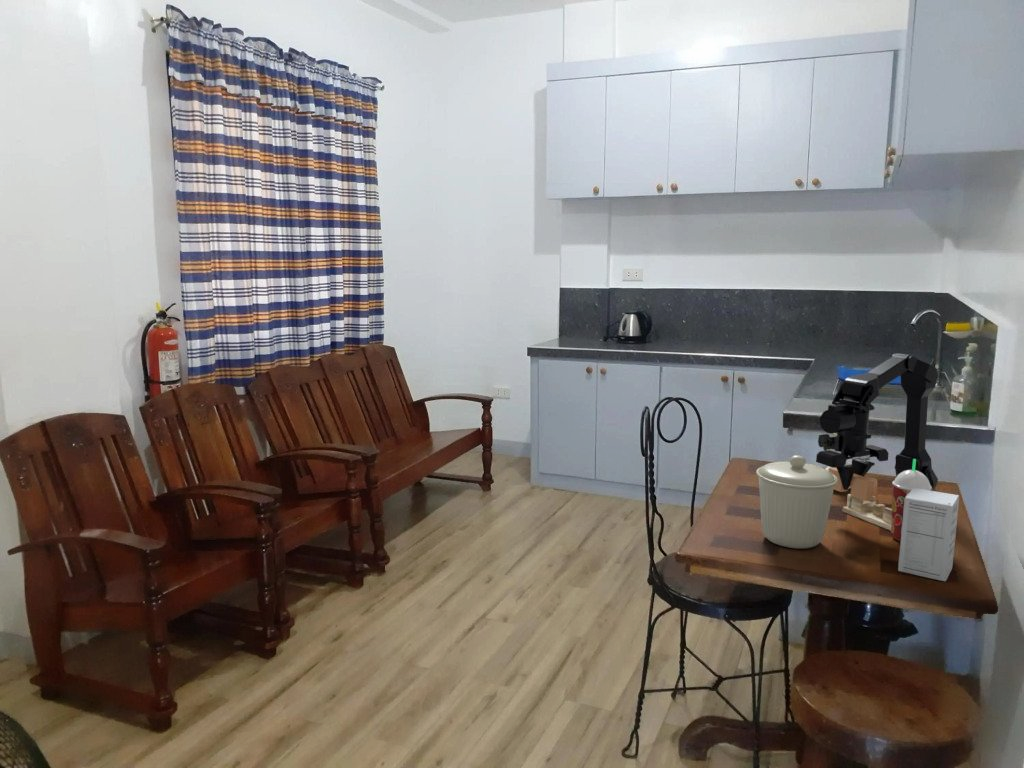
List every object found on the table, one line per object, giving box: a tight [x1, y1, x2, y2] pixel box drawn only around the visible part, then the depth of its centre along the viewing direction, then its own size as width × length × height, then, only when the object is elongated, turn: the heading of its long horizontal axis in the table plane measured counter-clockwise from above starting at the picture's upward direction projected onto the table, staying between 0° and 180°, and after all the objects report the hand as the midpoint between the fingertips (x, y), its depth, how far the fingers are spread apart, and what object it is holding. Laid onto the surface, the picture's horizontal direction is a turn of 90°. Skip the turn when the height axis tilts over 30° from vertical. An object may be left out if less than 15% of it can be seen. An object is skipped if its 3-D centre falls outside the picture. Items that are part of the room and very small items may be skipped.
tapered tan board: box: [829, 468, 875, 501], centre depth 189 cm, size 2×12×5 cm, turn 23°
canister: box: [755, 454, 838, 549], centre depth 178 cm, size 18×18×21 cm
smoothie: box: [890, 459, 933, 543], centre depth 180 cm, size 8×8×20 cm
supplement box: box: [897, 488, 960, 582], centre depth 163 cm, size 10×9×17 cm
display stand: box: [841, 493, 892, 532], centre depth 195 cm, size 8×16×5 cm, turn 23°
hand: (849, 489), depth 190 cm, fingers closed on tapered tan board, 2 cm apart
